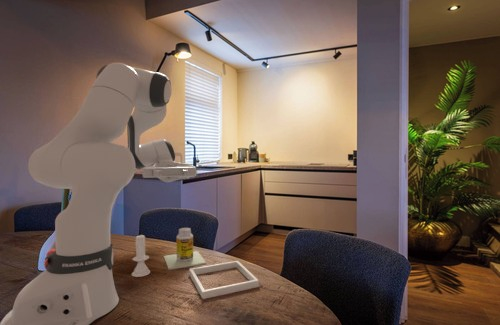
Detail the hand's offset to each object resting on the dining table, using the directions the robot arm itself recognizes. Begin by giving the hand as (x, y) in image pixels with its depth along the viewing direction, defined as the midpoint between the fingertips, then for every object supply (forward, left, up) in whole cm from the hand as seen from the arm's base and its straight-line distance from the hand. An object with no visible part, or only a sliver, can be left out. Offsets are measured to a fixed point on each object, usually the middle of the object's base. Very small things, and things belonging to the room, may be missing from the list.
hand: (172, 172), depth 102 cm
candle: (-12, -14, -30) cm, 35 cm away
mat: (+2, -9, -30) cm, 31 cm away
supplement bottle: (+2, -9, -29) cm, 31 cm away
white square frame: (+9, -29, -30) cm, 42 cm away
